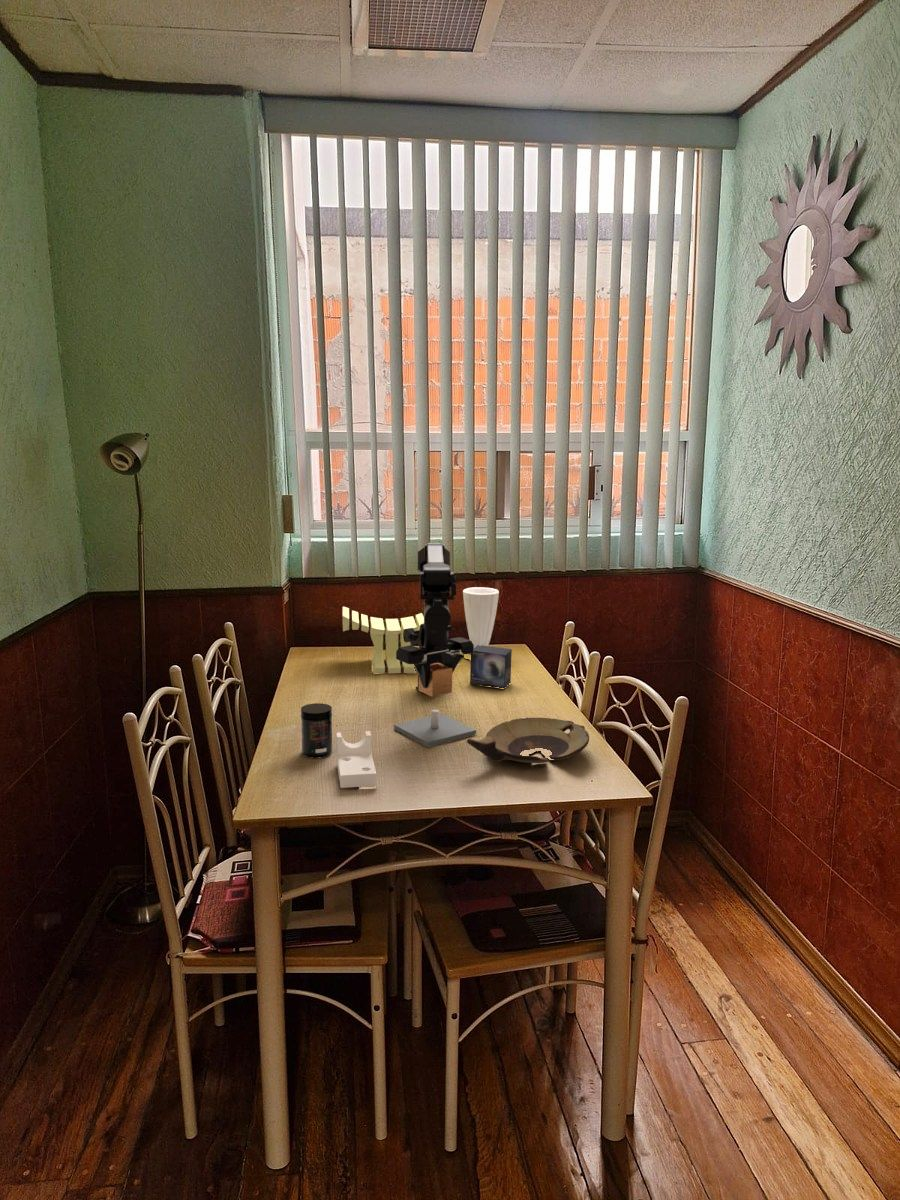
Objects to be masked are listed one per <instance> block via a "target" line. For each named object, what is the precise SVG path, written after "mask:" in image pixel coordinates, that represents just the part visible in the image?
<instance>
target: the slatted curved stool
mask: <svg viewBox="0 0 900 1200" xmlns="http://www.w3.org/2000/svg"><path fill="white" fill-rule="evenodd" d="M360 615H361V616H360V619H359V612H358V611H356V610H351V620H350V608H349V607H346V606H342V632H345V631H349V630H350V629H352V630H353V631H354V630H358V631H359V628H360V630H361V631H362V632H365V633H367V634H369V632H370V639H371V641H372V644H373V647H374V651H373V652H374V653H373V655H372V658H371V661H372V666H373V673H385V674H388V673H401V672H404V673H407V674H417V670H416V667H415V668H414V665H413V664H407V663H405V662H402V661H400V660H398V659H396V651H397V649H398V648H399V647H404V646H410V645H411V644H410V642H405V641H404V638H403V632H404V629H407V628H413V629H414V631H418V630H420V625H421V624H424V614H423V613H422V612H420V613H418V614H415V617H414V615H413V616H407V617H401V618H400V619H399V618H385V619H383V618H381V617H374V616H370V619H369V618H368V615H366V614H363V613H361V614H360ZM352 630H351V631H352ZM384 635H385V637H384ZM399 635H400V636H399ZM399 637H400V639H399ZM384 639H385V641H384ZM384 651H385V659H384ZM401 662H402V664H401ZM385 664H387V665H386V666H385ZM415 670H416V671H415ZM404 673H403V674H404ZM401 674H402V673H401Z"/></svg>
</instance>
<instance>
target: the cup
mask: <svg viewBox="0 0 900 1200" xmlns="http://www.w3.org/2000/svg"><path fill="white" fill-rule="evenodd" d="M462 596H463V607H464V616H465V622H466V628H467V633H468V637H469V639H468V640H470V641H472V643H473V645H474V648H475V647H476V646H477V645H483V646H490V645H489V644H490V642H491V638H492V634H493V630H494V626H495V620H496V615H497V610H498V603H499V597H500V592H499V590H498V589H496V588H492V587H483V586H482V587H481V586H479V587H478V586H477V587H476V586H475V587H467V588H465V589H463V590H462ZM469 655H471V653H470V654H469Z"/></svg>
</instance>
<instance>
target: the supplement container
mask: <svg viewBox="0 0 900 1200" xmlns="http://www.w3.org/2000/svg"><path fill="white" fill-rule="evenodd" d="M300 720H301V721H300V722H301V723H300V726H301V727H300V730H301V752H302V755H303V756H305V757H306V756H307V758H309V757H313V758H312V759H319V758H318V757H322V758H325V757H324V756H326V757H328V756H330V755H331V753H332V751H333V707H332V706H331V705H329V704H327V703H322V702H317V703H308V704H304V705H303V706H301V707H300ZM329 754H330V755H329ZM327 755H328V756H327Z"/></svg>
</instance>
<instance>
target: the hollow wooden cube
mask: <svg viewBox="0 0 900 1200" xmlns="http://www.w3.org/2000/svg"><path fill="white" fill-rule="evenodd" d="M418 692H420V693H424V694H426V695H427V696H430V697H438V696H443V695H448V694H451V693H453V674H452V668H451V667H448V666H446V665H443V664H441V663H433V664H430V672H429V680H428V685H427V688H424V687H423V686H422V683H421V680H420V677H419V690H418Z"/></svg>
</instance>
